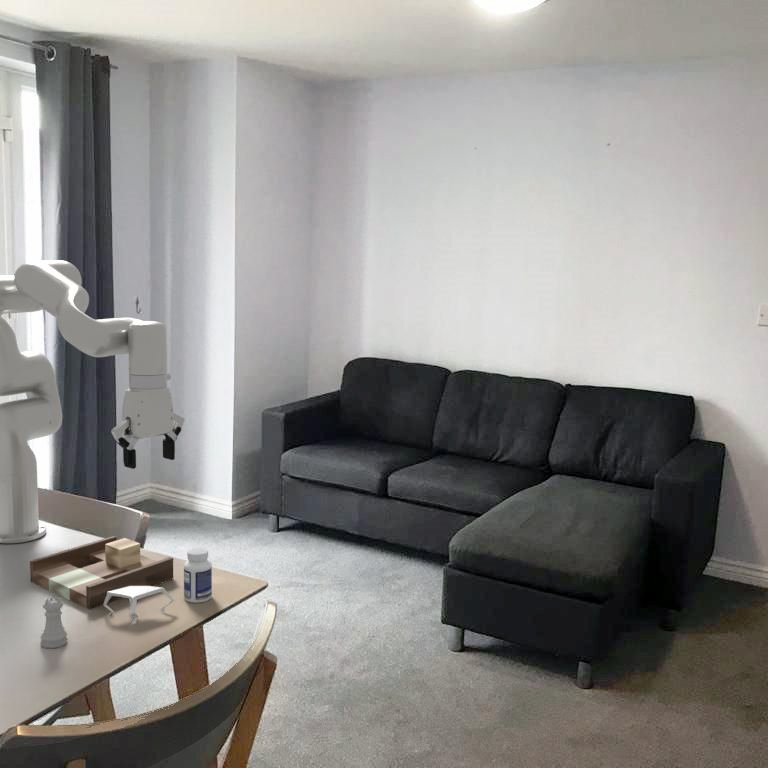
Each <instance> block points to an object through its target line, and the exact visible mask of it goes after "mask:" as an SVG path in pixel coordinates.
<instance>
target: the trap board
mask: <svg viewBox="0 0 768 768" xmlns="http://www.w3.org/2000/svg"><path fill="white" fill-rule="evenodd" d="M117 540H118V539H117V536H115V535H112V536H108V537H105V538H101V539H98V540H95V541H92V542H89V543H85V544H81V545H78V546H75V547H71V548H69V549H65V550H62V551H58V552H55V553H51V554H48V555H45V556H42V557H38V558H35V559H32V560H30V561H29V568H30V582H31V583H32V584H34V585H36V586H39V587H41V588H43V589H45V590H48V591H50V592H51V593H53V594H55V595H57V596H60V597H62V598H64V599H67V600H69V601H70V602H73V603H74V604H77V605H78V606H81V607H83V608H85V609H88V610H94V609H95V608H99V607H101V606H104V605H103V604H104V601H105V598H106V596H107V592H108V591H112V590H116V589H120V588H124V587H128V586H153V587H155V586H158V585H160V584H163V583H165V581H166V582H168V580H169V581H170V579H171V580H173V579H174V558H173V557H171V556H170V557H166V558H164V559H163V558H162V559H161V560H155V559H153V558H150V557H148V556H146V555H142V554H140V562H138V563H135V564H132V565H129V566H126V567H123V568H118V567H116V566H113V565H111V564H108V563H106V557H105V544H107V543H110V542H114V541H117ZM172 578H173V579H172ZM162 582H163V583H162ZM157 584H158V585H157ZM154 585H155V586H154ZM123 598H124V597H118V596H112V597H111V598H110V599H109V601H108V602H107V604H109V603H112V602H115V601H117V600H120V599H123Z"/></svg>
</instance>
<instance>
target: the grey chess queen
mask: <svg viewBox="0 0 768 768" xmlns="http://www.w3.org/2000/svg"><path fill="white" fill-rule="evenodd" d="M61 600H62V599H61V598H59V597H57V596H55V597H54V599H53V597H49V598H46V599H45V601H44V604H43V605H42V608H43V609H44V610H45V613H44V616H45V624H44V625H45V626H44V629H43V631H42V633H41V635H40V645H41V647H43V648H45V649H49V648H53V649H58V648H57V647H59V648H61V647H63V646H65V644H66V643H67V642H68V640H69V639H68V637H67V636H68V633H67V631H66V630H65V628H64V626H63V621H62V616H61V615H62V614H63V612H62V610H61V609H62V608H63V606H64V603H63V602H62V601H61Z"/></svg>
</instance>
